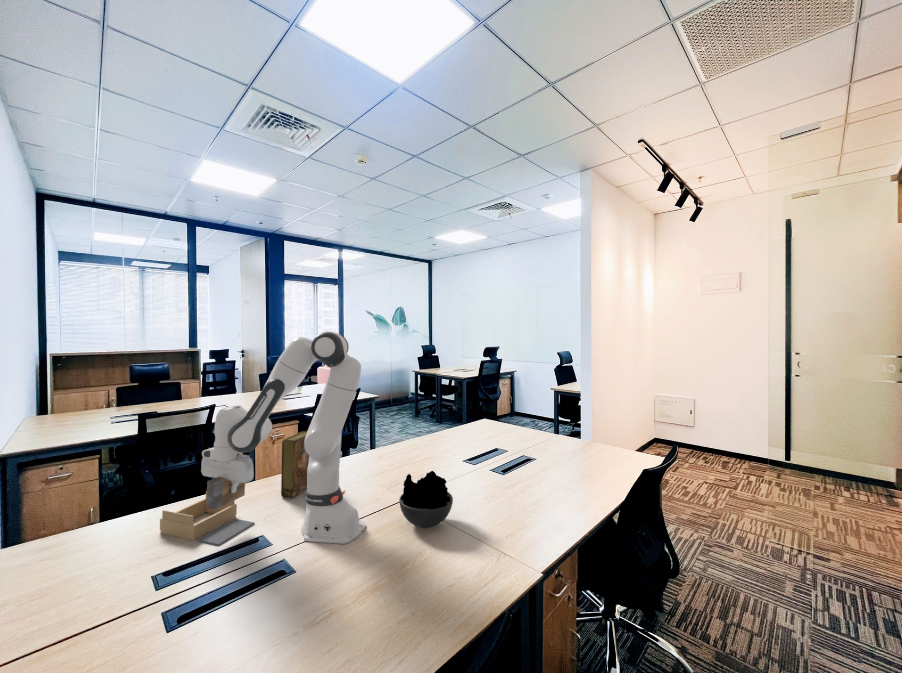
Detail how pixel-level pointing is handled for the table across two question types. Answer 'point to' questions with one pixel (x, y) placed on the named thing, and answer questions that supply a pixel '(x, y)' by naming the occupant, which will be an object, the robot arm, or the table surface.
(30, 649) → the table surface
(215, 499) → the capped box
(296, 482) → the book
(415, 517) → the coal bowl
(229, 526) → the mat
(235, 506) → the carton
